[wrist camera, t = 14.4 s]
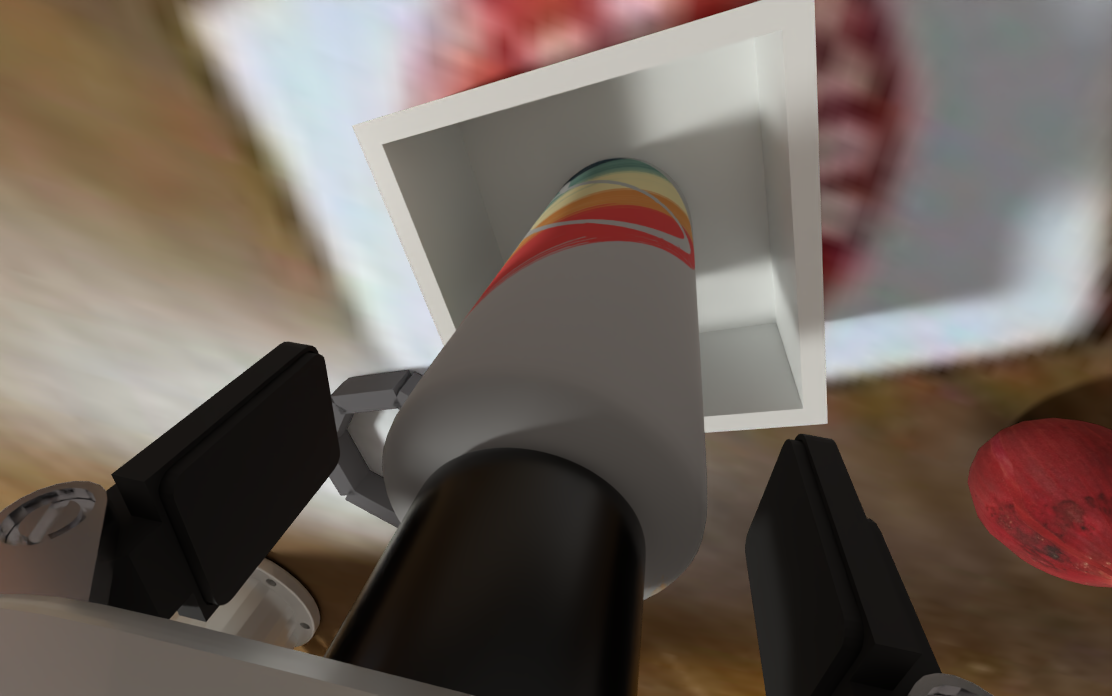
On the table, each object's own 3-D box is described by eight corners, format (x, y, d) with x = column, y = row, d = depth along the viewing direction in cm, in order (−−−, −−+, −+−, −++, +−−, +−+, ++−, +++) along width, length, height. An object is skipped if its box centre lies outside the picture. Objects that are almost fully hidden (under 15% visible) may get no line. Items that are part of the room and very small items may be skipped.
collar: (519, 505, 32) (511, 528, 31) (376, 510, 35) (363, 532, 34) (461, 363, 28) (448, 382, 26) (303, 383, 31) (283, 402, 29)
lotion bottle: (603, 122, 20) (147, 691, 3) (723, 210, 20) (917, 1066, 4) (527, 240, 23) (92, 854, 6) (635, 313, 23) (518, 1037, 7)
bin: (792, 327, 23) (827, 423, 17) (527, 361, 27) (486, 448, 21) (771, -2, 17) (813, -16, 12) (439, 100, 21) (352, 125, 15)
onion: (924, 476, 25) (1011, 637, 19) (960, 377, 22) (1077, 525, 16) (1067, 487, 24) (1215, 663, 17) (1125, 383, 21) (1329, 547, 14)
